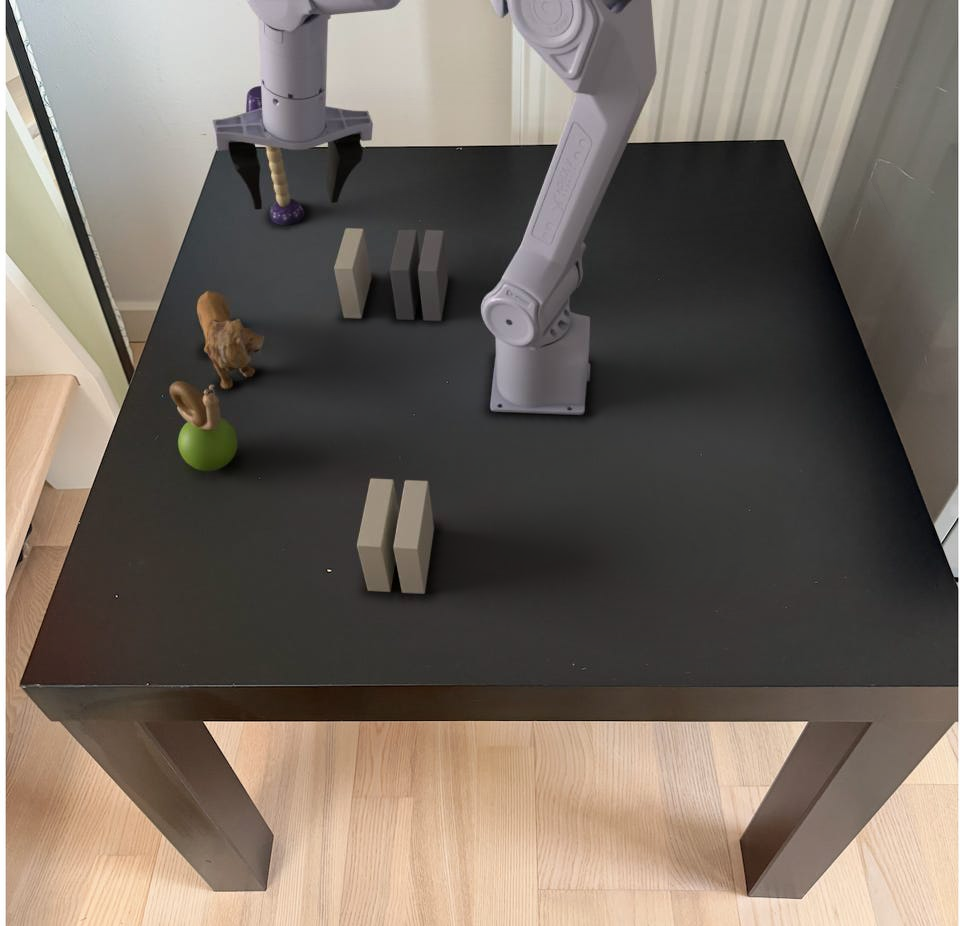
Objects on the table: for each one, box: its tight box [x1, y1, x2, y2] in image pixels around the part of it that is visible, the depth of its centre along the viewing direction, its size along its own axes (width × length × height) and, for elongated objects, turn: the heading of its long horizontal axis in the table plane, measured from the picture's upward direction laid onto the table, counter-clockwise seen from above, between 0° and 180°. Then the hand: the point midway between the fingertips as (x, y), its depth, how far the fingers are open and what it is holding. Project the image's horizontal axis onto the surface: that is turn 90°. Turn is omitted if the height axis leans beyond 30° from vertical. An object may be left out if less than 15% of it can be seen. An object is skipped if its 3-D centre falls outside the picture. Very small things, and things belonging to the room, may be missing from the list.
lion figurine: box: [196, 290, 265, 390], centre depth 94 cm, size 15×5×9 cm, turn 33°
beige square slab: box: [333, 227, 372, 319], centre depth 101 cm, size 2×7×7 cm, turn 175°
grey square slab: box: [389, 229, 421, 321], centre depth 101 cm, size 2×7×7 cm, turn 175°
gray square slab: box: [418, 229, 449, 322], centre depth 100 cm, size 2×7×7 cm, turn 175°
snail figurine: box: [169, 380, 238, 472], centre depth 84 cm, size 5×6×12 cm
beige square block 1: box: [356, 478, 400, 593], centre depth 78 cm, size 2×7×7 cm, turn 175°
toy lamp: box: [245, 85, 305, 226], centre depth 108 cm, size 5×5×17 cm
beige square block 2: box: [394, 479, 435, 595], centre depth 78 cm, size 2×7×7 cm, turn 175°
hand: (294, 199), depth 91 cm, fingers open, 7 cm apart
